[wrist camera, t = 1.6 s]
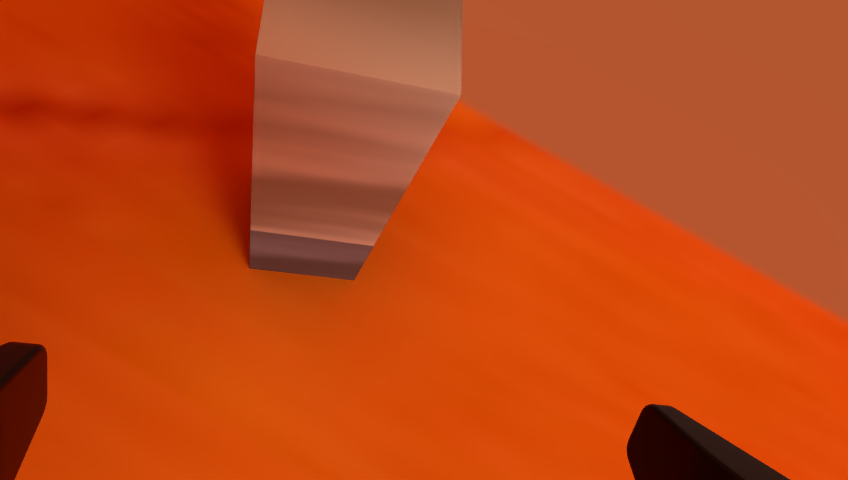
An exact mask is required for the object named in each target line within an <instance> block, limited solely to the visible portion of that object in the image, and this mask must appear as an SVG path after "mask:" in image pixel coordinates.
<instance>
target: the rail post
mask: <svg viewBox="0 0 848 480" xmlns="http://www.w3.org/2000/svg"><path fill="white" fill-rule="evenodd" d="M461 63H462V0H264V5H263V11H262V17H261V23H260V29H259V35H258V41H257V47H256V53H255V81H254V117H253V152H252V188H251V223H250V259H249V268H253V269H261V270H270V271H279V272H287V273H296V274H305V275H313V276H322V277H331V278H339V279H348V280H354V279H355V277H356V276H357V274H358V272H359V270H360V269H361V267H362V265H363V263H364V262H365V260H366V258H367V257H368V255H369V253H370V251H371V250H372V248H373V246H374V244H375V243H376V241H377V239H378V238H379V236H380V234H381V232H382V231H383V229H384V227H385V225H386V224H387V222H388V220H389V219H390V217H391V215H392V213H393V212H394V210H395V208H396V207H397V205H398V203H399V201H400V200H401V198H402V196H403V194H404V193H405V191H406V189H407V188H408V186H409V184H410V182H411V181H412V179H413V177H414V175H415V174H416V172H417V170H418V169H419V167H420V165H421V163H422V162H423V160H424V158H425V156H426V155H427V153H428V151H429V150H430V148H431V146H432V144H433V143H434V141H435V139H436V137H437V136H438V134H439V132H440V131H441V129H442V127H443V125H444V124H445V122H446V120H447V118H448V117H449V115H450V113H451V112H452V110H453V108H454V106H455V105H456V103H457V101H458V99H459V98H460V96H461V66H462V65H461Z"/></svg>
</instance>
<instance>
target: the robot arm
mask: <svg viewBox="0 0 848 480" xmlns="http://www.w3.org/2000/svg"><path fill="white" fill-rule="evenodd" d="M46 402H47V352H46V349H45V348H44V347H43V346H42V345H40V344H30V343H20V342H8V343H6V344H3V345H1V346H0V480H14V479H15V477H16V475H17V473H18V470H19V468H20V466H21V463H22V461H23V459H24V457H25V454H26V452H27V450H28V448H29V445H30V443H31V441H32V438H33V436H34V434H35V432H36V429H37V427H38V425H39V422H40V420H41V418H42V415H43V413H44V410H45V406H46ZM627 456H628V460H629V463H630V466H631V469H632V472H633V475H634V478H635V480H790V479H788V478H787V477H785V476H783V475H782V474H780V473H778V472H777V471H775V470H774V469H772V468H770V467H769V466H767V465H766V464H764V463H762V462H761V461H759V460H758V459H756V458H754V457H753V456H751V455H749V454H748V453H746V452H745V451H743V450H741V449H740V448H738V447H737V446H735V445H733V444H732V443H730V442H729V441H727V440H725V439H724V438H722V437H720V436H719V435H717V434H716V433H714V432H712V431H711V430H709V429H708V428H706V427H704V426H703V425H701V424H700V423H698V422H696V421H695V420H693V419H691V418H690V417H688V416H687V415H685V414H683V413H682V412H680V411H679V410H677V409H675V408H674V407H671V406H667V405H656V404H649V405H647V406H645V407H644V408H643V410H642V411H641V413H640V416H639V418H638V420H637V422H636V425H635V427H634V429H633V431H632V434H631V436H630V438H629V440H628V444H627Z"/></svg>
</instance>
